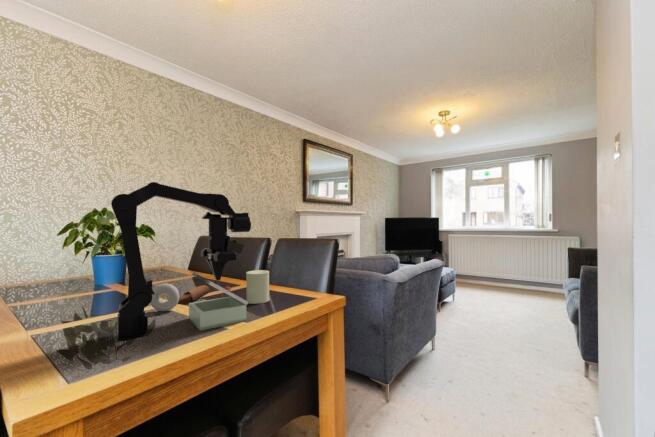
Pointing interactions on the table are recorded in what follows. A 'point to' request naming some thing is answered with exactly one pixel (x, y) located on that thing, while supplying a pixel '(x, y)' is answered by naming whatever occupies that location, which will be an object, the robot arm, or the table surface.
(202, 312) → the shallow mint tray
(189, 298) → the sunglasses case
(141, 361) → the table surface
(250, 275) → the can
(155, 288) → the donut
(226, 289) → the lid
